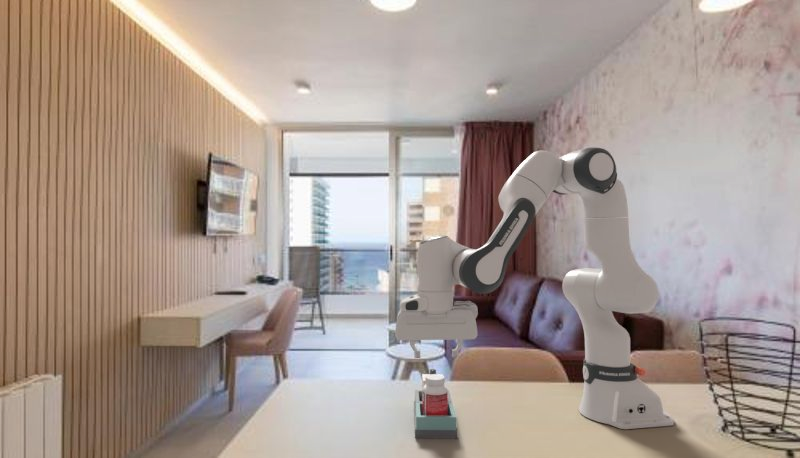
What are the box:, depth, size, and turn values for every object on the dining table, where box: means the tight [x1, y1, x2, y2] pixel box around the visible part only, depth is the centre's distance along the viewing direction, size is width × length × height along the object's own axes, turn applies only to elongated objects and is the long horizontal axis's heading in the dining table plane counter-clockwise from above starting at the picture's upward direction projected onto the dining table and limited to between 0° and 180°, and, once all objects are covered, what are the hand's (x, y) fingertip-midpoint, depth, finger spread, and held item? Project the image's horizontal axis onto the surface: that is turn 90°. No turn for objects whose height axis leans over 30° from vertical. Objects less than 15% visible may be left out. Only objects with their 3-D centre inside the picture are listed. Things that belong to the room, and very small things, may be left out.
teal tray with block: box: [413, 368, 458, 439], centre depth 114 cm, size 10×18×12 cm, turn 179°
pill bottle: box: [422, 373, 448, 416], centre depth 109 cm, size 6×6×11 cm
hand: (436, 357), depth 110 cm, fingers open, 8 cm apart
